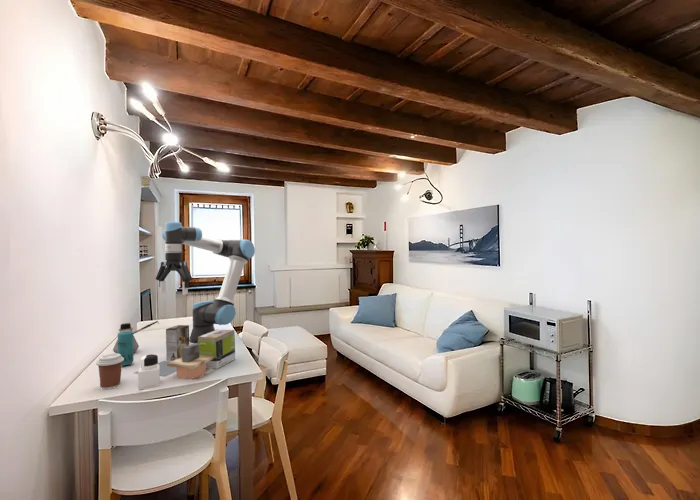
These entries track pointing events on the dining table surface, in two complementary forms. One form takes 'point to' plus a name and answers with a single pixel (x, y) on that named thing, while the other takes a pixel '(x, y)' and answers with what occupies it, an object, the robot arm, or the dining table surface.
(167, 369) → the mat
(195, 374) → the bowl
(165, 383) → the dining table surface
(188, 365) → the lid
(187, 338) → the coffee box
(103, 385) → the coffee cup
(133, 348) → the coffee pot
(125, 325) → the beverage bottle
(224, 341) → the tea box
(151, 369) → the medicine bottle
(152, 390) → the dining table surface
